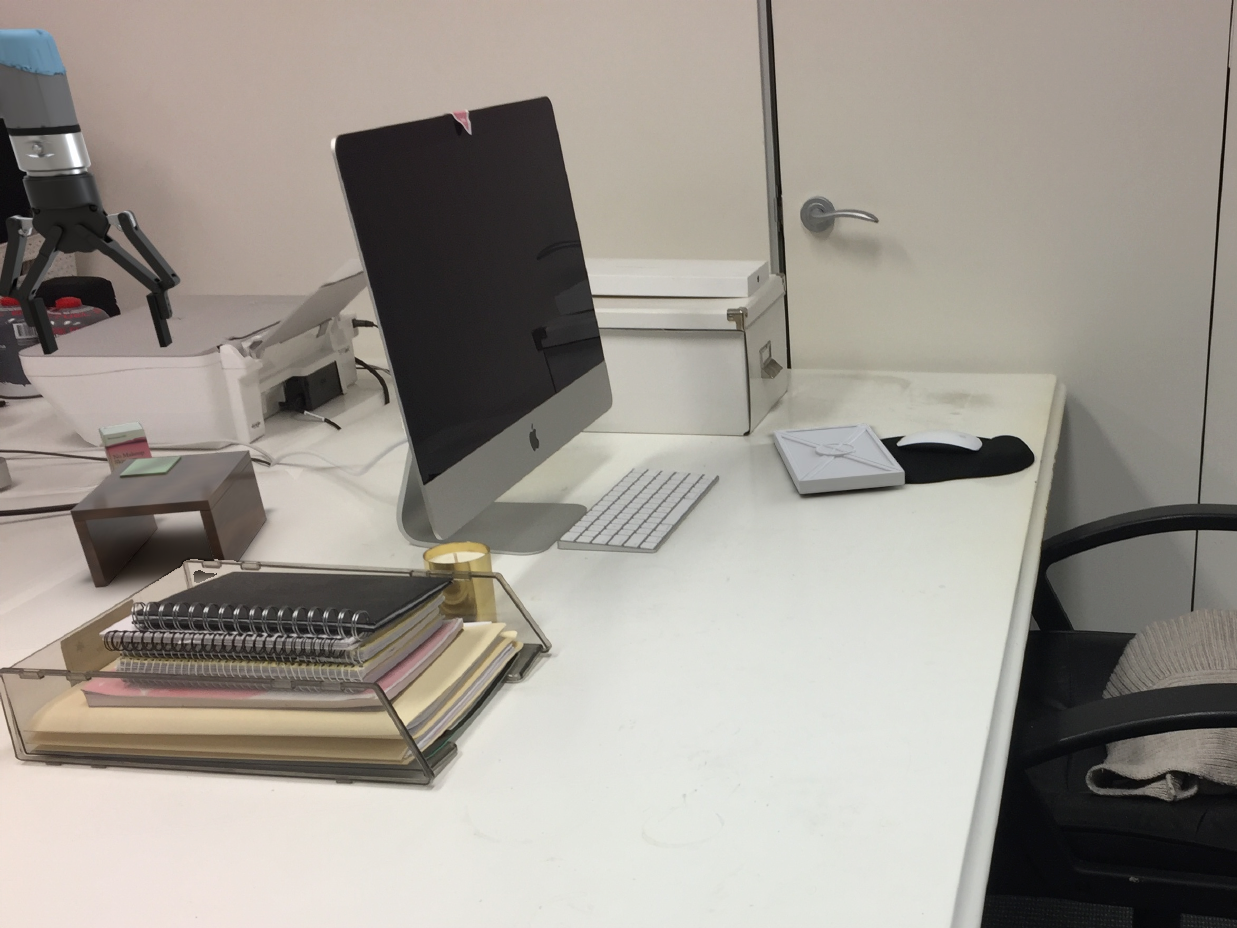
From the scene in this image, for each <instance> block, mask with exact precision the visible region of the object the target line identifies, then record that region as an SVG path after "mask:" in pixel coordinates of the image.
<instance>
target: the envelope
mask: <svg viewBox="0 0 1237 928" xmlns="http://www.w3.org/2000/svg"><path fill="white" fill-rule="evenodd" d="M772 433H773V444H774V445H775V447H776V449H777V451H778V453H779V456H780V457H781V459H782V461H783V463H784V465H785V468H786V470H787V471H788V473H789V476H790V478H791V479H792V482H793V483H794V485H795V487H796V490H797V491H798V494H800V495H805V494H816V493H827V492H828V493H829V492H838V491H839V492H840V491H847V490H848V491H849V490H859V489H860V490H861V489H870V488H881V487H893V486H904V485H905V484H906V479H905V478H906V477H905V476H906V473H905V470H904V469H903V467H902V466H901V465H900V464H899V462H897V461H898V460H896V458H894V456H893V455H892V453H891V452H890V451H889V449H888V448H887V447H886V446H885V445H884V444H883V443H884V442H882V440H880V438H879V436H878V435H876V433H875V432H874V430H873V429H872V428H871V427H870V425H869V424H868V423H866V422H863V423H853V424H851V423H849V424H840V425H828V426H826V425H825V426H815V427H804V428H803V427H802V428H791V429H790V428H789V429H779V430H773V432H772Z"/></svg>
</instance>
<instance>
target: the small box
mask: <svg viewBox="0 0 1237 928" xmlns="http://www.w3.org/2000/svg"><path fill="white" fill-rule="evenodd" d="M97 430H98V433H99V436H100V437H99V438H100V440H101V443H102V446H103V447H102V448H103V450H104V453H105V457H106V459H107V463H108V467H109V469H110V472H111V473H112V472H113V471H115V470H116V469H117V468H118V467H119V466H120V465H121V464H122V463H123V462H124V461H125V460H127V459H140V458H153V456H152V453H151V449H150V446H149V442H148V439H147V435H146V432H145V431H146V430H145V428H144V426H143V425H142V424H141V422H140V421H134V422H133V421H132V422H127V423H119V424H114V425H108V426H103V427H98V428H97ZM111 473H110V474H111Z"/></svg>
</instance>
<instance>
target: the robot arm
mask: <svg viewBox="0 0 1237 928" xmlns="http://www.w3.org/2000/svg"><path fill="white" fill-rule="evenodd" d="M72 96H73V95H72V93H71V88H70V84H69V80H68V76H67V69H66V67H65V65H64V63H63V60H62V58H61V54H60V52H59V49H58V46H57V44H56V40H55V38H54V37H53V35H52V34H51V33H50V32H49V31H47V30H45V29H43V28H2V29H1V28H0V120H3V122H4V125H5V128H6V130H7V133H8V136H9V140H10V143H11V147H12V150H13V152H14V156H15V159H16V163H17V167H18V169H19V170H20V171H21V172H26V175H24V176H23V179H22V182H23V187H24V189H25V192H26V196H27V199H28V202H29V206H30V208H31V210H32V217H23V216H22V215H20V214H16V215H13V216H10V217H7V218H6V219H5V226H6V231H7V237H8V238H7V243H6V247H5V252H4V253H5V254H4V258H3V262H2V268H1V273H0V297H2V298H10V299H13V300H16V301H17V302H18V304H19V306H20V310H21V313H22V315H23V319H24V322H25V324H26V326H27V327H28V328H35V330H36V334H37V337H38V340H39V344H40V347H41V350H42V353H43V355H44V356H47V355H48V356H49V355H52V354H54V353H55V352H57V351H59V346H58V344H57V340H56V337H55V334H54V330H53V328H52V324H51V322H50V321H51V320H50V317H49V313H48V312H47V308H46V306H45V302H44V299H43V297H36V293H37V292H38V289H39V287H40V286H41V284H42V282H43V280H44V278H45V277H46V275H47V273H48V272H49V270H50V268H51V266H52V265H53V262H54V261H55V259H56V257H58V255H59V254H60V253H62V254H63V255H68V254H69V255H70V254H73V253H77V252H79V253H83V254H90V253H91V254H92V253H93V252H95V251H99V252H100V253H101V254H102V255H104V256H107V257H108V258H109V259H110V260H111V261H112V262H114V263H116V264H117V265H118V266H119V267H121V269H123V270H124V271H125V272H127V273H128V274H129V275H130V276H131V277H133V278H134V279H135V280H137V282H139V283H140V284H141V285H142V286H144V287H145V288H146V289H147V290H148V291H150V293H148V294H146V295H145V297H146V302H147V305H148V309H149V312H150V316H151V319H152V323H153V326H154V331H155V334H156V337H157V342H158V345H159V348H167V347H169V346H170V345H171V344H173V339H172V335H171V331H170V328H169V323H168V321H167V320H170V319H171V318H172V317H173V314H174V313H173V309H172V305H171V302H170V297H169V293H168V292H169V290H170V289H174V288H175V287H177V286H178V285H179V284H181V278H180V276H179V275H178V274H177V272H176V271H175V270H174V269H173V267H172V266H171V265H170V264H169V263H168V262H167V260H166V259H165V258H164V257H163V255H162V254H161V253H160V251H159V250H158V249H157V248H156V247H155V245H154V244H153V243H152V242H151V240H150V239H149V238H148V237H147V235H146V234H145V233H144V232H143V231H142V229H141V228H140V225H139V222H138V220H137V218H136V215H135V213H134V212H133V211H132V210H130V209H127V210H124V211H122V212H119V213H113V214H108V213H107V212H106V211H105V208H104V205H103V202H102V197H101V194H100V191H99V186H98V184H97V180H96V176H95V174H94V173H92V171H88V168H90V167H91V166H92V163H91V158H90V155H89V152H88V149H87V145H86V142H85V139H84V135H83V131H82V129H81V125H80V123H79V121H78V118H77V113H76V109H75V105H74V100H73V97H72ZM112 225H113V226H114V227H115V228H116V229H117V230H118V231H119V232H123V234H124V236H125V237H126V239H127V240H128V241H129V242H130V244H131V245H132V246H133V247H134V249H135V250H136V252H137V253H138V254H139V255H140V256H141V257H142V259H143V260H144V261H145V262H146V263H147V265H148V266H149V267H150V268H151V269H152V270H153V271H152V270H150V269H149V268H148V267H146V265H144V264H143V263H141V262H140V261H139V260H138V259H137V258H136V257H134V256H133V255H132V254H131V253H129V252H128V251H127V250H126V249H125V248H123V247H122V246H121V245H120V243H119V242H118V241H117V240H116V239H114V238H113V237H112V236H111V235H110V234H108V233H109V231H110V228H111V227H112ZM33 229H34V230H35V231H36V232H37V233H38V234H39V235H40V236H41V237H43V238H44V241H43V242H42V245H41V246H40V247H39V250H38V254H37V256H36V258H35V259H34V260H33V263H32V265H31V266H30V268H29V270H28V272H27V274H26V275H25V276H24V279H23V280H22V283H21V284H20V286H19V283H20V282H19V281H20V277H21V271H22V266H23V262H24V257H25V254H26V253H25V252H26V247H27V242H28V236H30V235H31V234H32V230H33Z"/></svg>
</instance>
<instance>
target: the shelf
mask: <svg viewBox="0 0 1237 928" xmlns="http://www.w3.org/2000/svg"><path fill="white" fill-rule="evenodd" d="M260 491H261V490H260V488H259V484H258V479H257V475H256V472H255V468H254V465H253V461H252V456H251V452H250V450H249V449H247V450H235V451H222V452H221V451H219V452H209V453H207V452H206V453H196V454H195V453H194V454H183V455H169V456H155V457H153V456H152V458H140V459H127V460H125V461H124V462H123V463H122V464H121V465H120V466H119V467H118V468H117V469H116V470H115V471H113V472H112V473H110V474H109V475H108V476H107V477H106V478H105V479H103V480H102V481H101V482H100V483H99V484H97V486H96V487H95V488H94V489H93V490H91V491H90V493H88V494H87V495H86V496H85V497H83V498H82V499H81V500H80V501H79V502H78V503H77V504H76V505H75V506H74V507H73V508H72V509H70V512H69V513H70V515H71V519H72V521H73V524H74V527H75V531H76V533H77V536H78V539H79V543H80V545H81V548H82V552H83V554H84V558H85V561H86V563H87V566H88V569H89V573H90V575H91V578H92V582H93V584H94V587H95V588H100V587H107V586H108V585H109V584H110V583H111V582H112V580H113V579H115V578H116V576H117V575H118V574H119V573H120V572H121V570H122V569H123V568H124V567H125V566H126V565H127V563H129V562H130V561H131V559H132V558H133V557H134V556H135V555H136V553H137V552H138V551H139V550H140V549H141V548H142V546H144V544H145V543H146V542H147V541H148V540H149V539H150V537H151V536H152V535H153V534H154V533H155V532H156V531H157V530H158V524H157V522H156V517H155V515H166V514H178V513H179V514H180V513H191V512H199V514H200V518H201V521H202V525H203V529H204V532H205V535H206V538H207V542H208V546H209V550H210V553H211V556H212V560H213V559H218V560H234V561H238V562H239V561H240V559H241V558H242V556H243V555H244V553H245V552H246V550H247V549H248V547H250V544H251V543H252V542H253V539H255V537H256V536H257V534H258V533H259V531H260V529H261V528H262V527H263V525H264V523H265V522H266V521H267V519H268V518H267V515H266V511H265V507H264V504H263V500H262V496H261V492H260Z"/></svg>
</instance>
